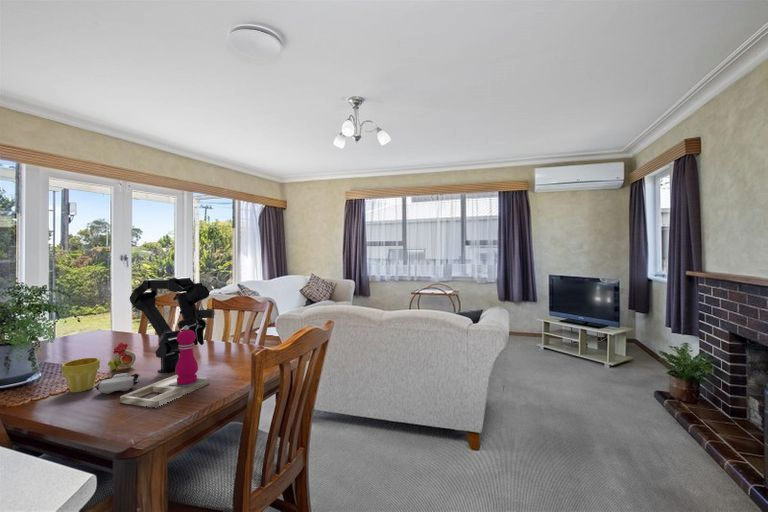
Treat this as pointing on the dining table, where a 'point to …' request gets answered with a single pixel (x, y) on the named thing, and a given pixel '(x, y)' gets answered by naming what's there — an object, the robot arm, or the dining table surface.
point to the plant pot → (81, 373)
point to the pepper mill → (186, 357)
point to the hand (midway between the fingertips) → (199, 344)
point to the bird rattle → (126, 359)
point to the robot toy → (117, 383)
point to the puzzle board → (165, 387)
